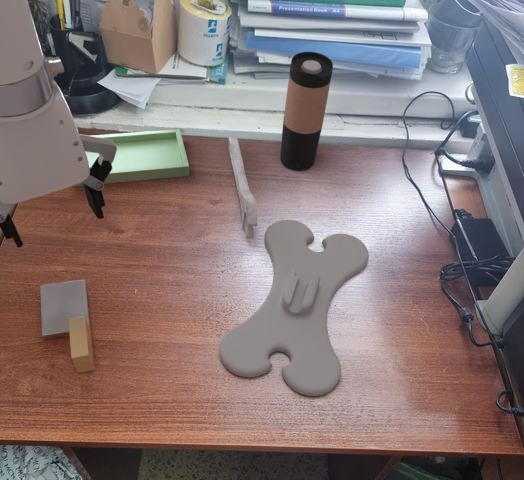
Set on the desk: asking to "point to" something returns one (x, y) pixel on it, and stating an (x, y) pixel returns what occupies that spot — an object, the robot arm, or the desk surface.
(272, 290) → the holder
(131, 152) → the tray
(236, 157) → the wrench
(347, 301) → the desk surface
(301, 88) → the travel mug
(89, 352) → the cleaver
